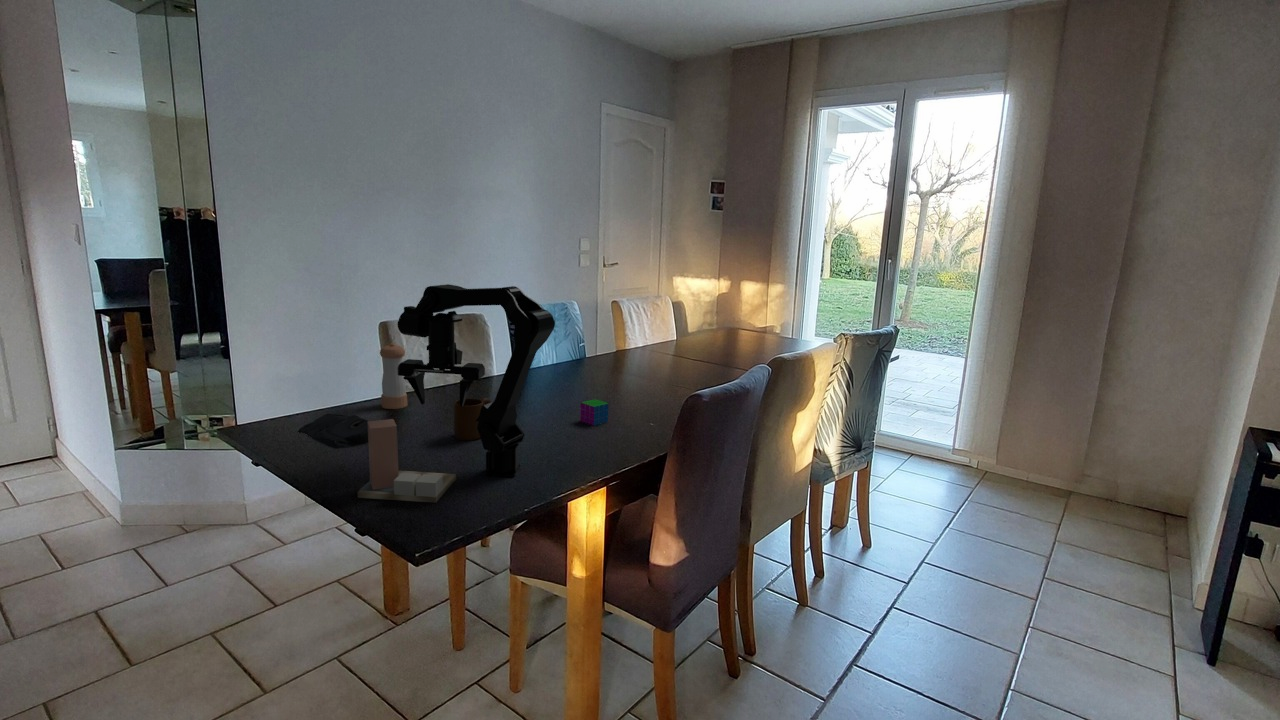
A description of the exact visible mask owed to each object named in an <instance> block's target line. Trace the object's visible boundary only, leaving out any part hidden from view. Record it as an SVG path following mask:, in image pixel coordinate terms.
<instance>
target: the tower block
mask: <svg viewBox="0 0 1280 720" xmlns="http://www.w3.org/2000/svg"><path fill="white" fill-rule="evenodd" d="M367 423H368V443H367V444H368V460H369V463H368V464H369V465H368V466H369V481H370V482H371V485H372V489H373V490H375V489H382V488H389V487H394V480H395V479H396V478H397V477H398V476H399V474H398V471H399V454H398V453H399V452H398V451H399V448H398V425H397V424H396V422H395V420H394V418H390V419H389V418H388V419H379V420H367Z"/></svg>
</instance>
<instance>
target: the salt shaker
mask: <svg viewBox="0 0 1280 720" xmlns="http://www.w3.org/2000/svg"><path fill="white" fill-rule="evenodd" d="M379 354H380V357H382V370H383V371H382V378H381V379H382V380H381V391H382V394H381V396H380V397H381V398H380V399H381V401H380V402H381V408H383V409H385V410H400V409H402V408H407V406H408V394H407V392H406V387H407V386H406V385H407V384H406V383H407V382H406V380H405V379H404V376H399V375H398V365H399V364H400V363H402V362H404V359H403V357H404V356H405V355H406V349H404V347H403V346H400V345H397V344H395V343H394V342H391V343H389V345H385V346H383V347H381V349H380V350H379Z"/></svg>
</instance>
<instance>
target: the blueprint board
mask: <svg viewBox="0 0 1280 720" xmlns="http://www.w3.org/2000/svg"><path fill="white" fill-rule="evenodd" d="M401 473H412V474H421V476H422V475H423V474H429V475H443V489H442V491H441V492H440V493H439V494H438V495H437V496H436V497H426V496H416V494H415V495H414V496H411V495H395V494H394V487H389V488H382V489H375V490H373V489H372V485H371V482H370V480H369V481H368V482H367V483H365V484H364V485H363V486H362V487H361V488H360V489H359V490H358V491H357V498H360V499H371V500H372V499H374V500H388V501H390V500H391V501H405V502H421V503H437V502H438V501H439V500H440V499H441V497H443V495H444V494H445V493H446V492H447V490H448V489H449V488H450V487H451V486H452V485H453V483H454V482H455V481H456V480H457V474H456V473H442V472H439V473H438V472H430V471H429V472H428V471H427V472H425V471H414V470H413V471H412V470H409V471H408V470H398V474H399V475H400V474H401Z"/></svg>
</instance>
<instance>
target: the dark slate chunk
mask: <svg viewBox="0 0 1280 720" xmlns="http://www.w3.org/2000/svg"><path fill="white" fill-rule="evenodd" d="M367 421H368V420H367V419H365V418H363V417H361V416H357V415H355V414H352V415H347V414H344V413H325V414H324V415H322V416H319V417H318V418H316V419H315V420H313V421H312V422H308V423H307V424H304V425H302V427H300V428H299V429H298V430H299V431H300V432H302V433H305V434H307V435H308V436H307V435H306V436H307V437H309V436H310V437H309V438H311V437H312V439H313V438H314V439H313V440H315V439H316V440H315V441H318V440H319V441H318V442H320V441H321V443H322V442H323V444H325V445H328V446H330V447H331V448H332V447H333V448H335V449H341V448H343V449H349V448H352V447H356V446H359V445H365V444H368V423H367ZM299 431H298V432H299ZM300 432H299V433H300ZM302 433H301V434H302ZM305 434H304V435H305Z"/></svg>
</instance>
